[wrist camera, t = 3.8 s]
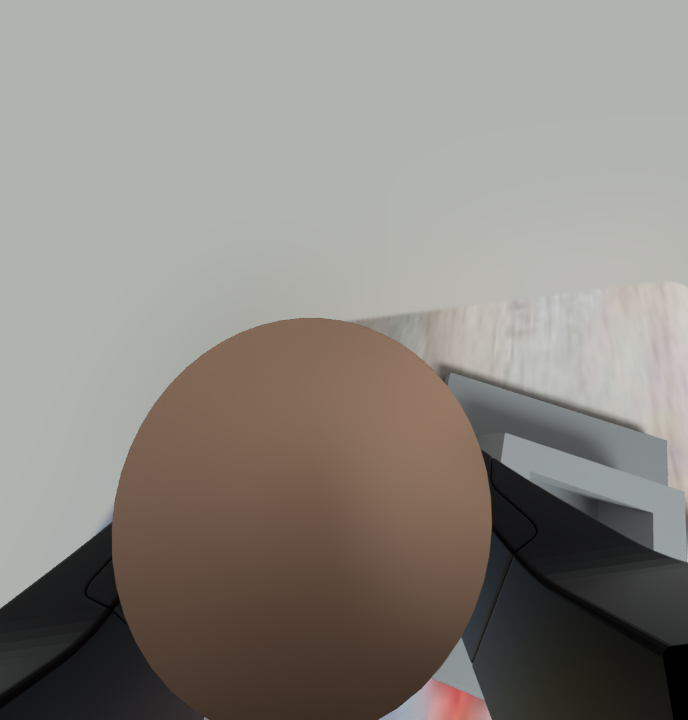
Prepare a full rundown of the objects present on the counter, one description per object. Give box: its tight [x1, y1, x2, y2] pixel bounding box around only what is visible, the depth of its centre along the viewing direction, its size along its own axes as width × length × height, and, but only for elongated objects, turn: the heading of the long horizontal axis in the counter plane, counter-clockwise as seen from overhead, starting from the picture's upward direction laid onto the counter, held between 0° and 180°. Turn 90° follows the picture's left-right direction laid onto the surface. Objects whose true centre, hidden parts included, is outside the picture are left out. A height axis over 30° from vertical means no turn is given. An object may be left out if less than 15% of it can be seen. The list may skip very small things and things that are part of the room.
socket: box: [431, 372, 687, 700], centre depth 15 cm, size 16×14×4 cm
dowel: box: [112, 318, 492, 720], centre depth 9 cm, size 4×4×12 cm
